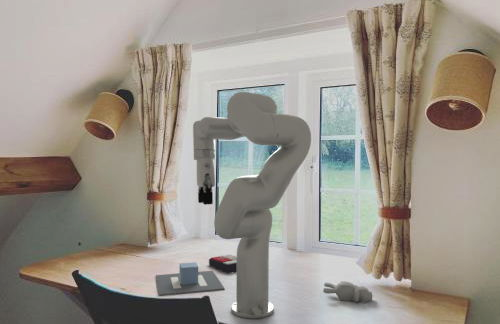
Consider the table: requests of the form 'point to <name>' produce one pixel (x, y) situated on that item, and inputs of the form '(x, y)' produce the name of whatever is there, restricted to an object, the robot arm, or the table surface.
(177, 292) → the letter mat
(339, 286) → the bunny figurine
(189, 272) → the blue cube
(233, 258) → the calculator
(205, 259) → the table surface
